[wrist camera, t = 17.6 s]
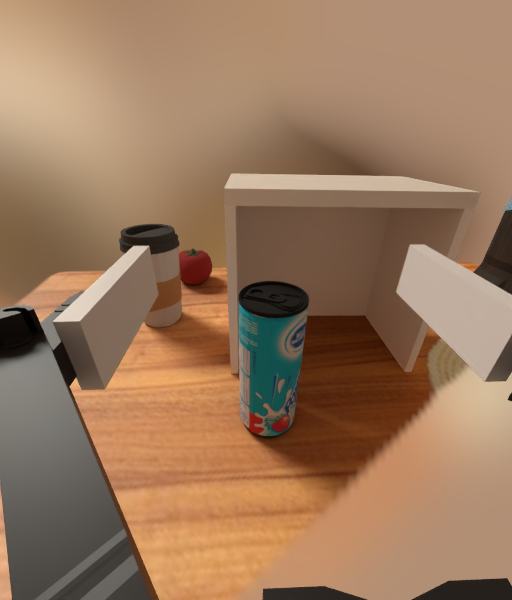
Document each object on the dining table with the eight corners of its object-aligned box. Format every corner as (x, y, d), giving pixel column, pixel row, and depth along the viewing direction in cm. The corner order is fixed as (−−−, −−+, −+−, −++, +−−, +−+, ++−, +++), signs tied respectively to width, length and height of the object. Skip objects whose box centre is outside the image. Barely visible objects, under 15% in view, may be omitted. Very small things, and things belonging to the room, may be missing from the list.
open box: (368, 312, 50) (402, 176, 39) (411, 371, 37) (481, 192, 26) (234, 312, 49) (231, 173, 38) (230, 373, 36) (224, 188, 25)
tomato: (214, 273, 64) (212, 243, 61) (211, 289, 57) (208, 256, 54) (179, 273, 64) (175, 243, 60) (171, 289, 57) (166, 256, 53)
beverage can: (274, 452, 27) (284, 323, 20) (228, 420, 30) (223, 298, 23) (303, 412, 31) (321, 293, 24) (261, 387, 34) (265, 275, 27)
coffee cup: (125, 322, 46) (102, 232, 39) (162, 301, 52) (149, 220, 45) (163, 337, 42) (146, 242, 35) (197, 312, 49) (189, 227, 42)
